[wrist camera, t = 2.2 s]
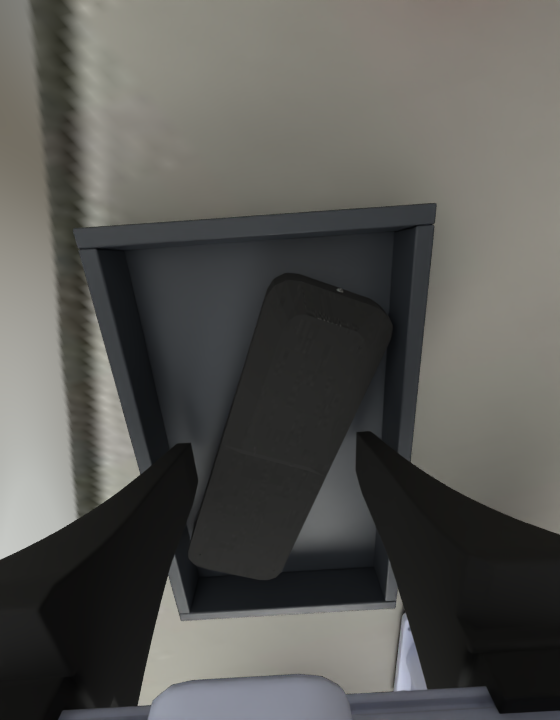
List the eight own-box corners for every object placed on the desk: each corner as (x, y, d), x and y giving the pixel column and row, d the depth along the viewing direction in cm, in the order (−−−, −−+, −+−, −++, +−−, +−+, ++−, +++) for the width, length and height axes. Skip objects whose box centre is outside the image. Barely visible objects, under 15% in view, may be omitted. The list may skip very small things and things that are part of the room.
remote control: (276, 552, 16) (392, 305, 11) (275, 586, 15) (412, 314, 10) (192, 533, 16) (274, 264, 11) (181, 566, 14) (274, 266, 9)
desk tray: (381, 567, 17) (395, 608, 15) (191, 579, 17) (180, 621, 15) (407, 213, 11) (438, 202, 9) (109, 234, 11) (71, 228, 9)
